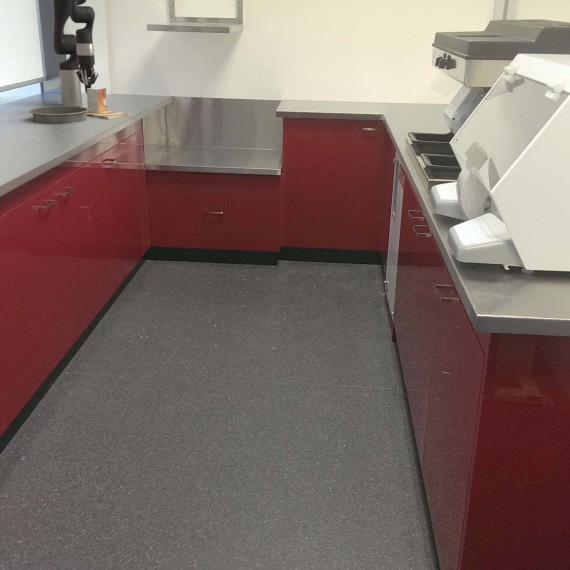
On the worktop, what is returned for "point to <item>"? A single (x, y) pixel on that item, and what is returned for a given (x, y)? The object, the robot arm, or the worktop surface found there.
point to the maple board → (107, 114)
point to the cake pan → (59, 114)
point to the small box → (96, 99)
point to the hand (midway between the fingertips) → (88, 93)
